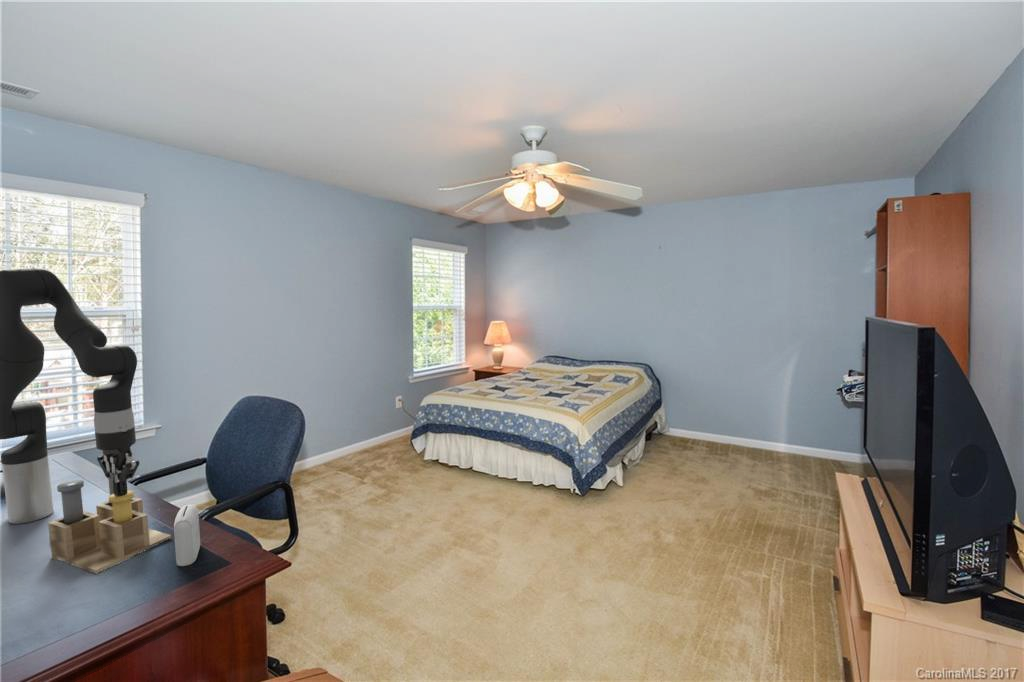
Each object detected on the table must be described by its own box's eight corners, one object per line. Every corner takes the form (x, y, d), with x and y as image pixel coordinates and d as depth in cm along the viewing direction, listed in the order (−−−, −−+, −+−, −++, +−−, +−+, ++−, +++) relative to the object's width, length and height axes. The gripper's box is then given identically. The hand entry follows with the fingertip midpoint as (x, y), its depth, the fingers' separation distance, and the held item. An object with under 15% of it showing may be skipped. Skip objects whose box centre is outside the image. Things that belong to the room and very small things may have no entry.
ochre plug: (107, 535, 118) (104, 497, 117) (129, 526, 123) (125, 489, 122) (119, 539, 117) (116, 500, 116) (141, 530, 121) (137, 492, 120)
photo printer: (182, 547, 123) (179, 501, 121) (202, 543, 125) (199, 498, 123) (174, 568, 114) (170, 519, 112) (195, 564, 115) (192, 516, 114)
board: (51, 557, 118) (48, 522, 117) (128, 525, 133) (125, 494, 132) (96, 574, 111) (92, 537, 110) (171, 538, 127) (168, 506, 126)
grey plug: (56, 525, 117) (52, 486, 116) (80, 516, 122) (76, 478, 121) (68, 529, 116) (64, 489, 114) (91, 520, 120) (87, 482, 119)
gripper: (80, 428, 116) (87, 496, 118) (114, 435, 111) (120, 506, 113) (115, 420, 122) (121, 484, 124) (149, 426, 118) (154, 493, 120)
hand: (121, 494), depth 119 cm, fingers closed
